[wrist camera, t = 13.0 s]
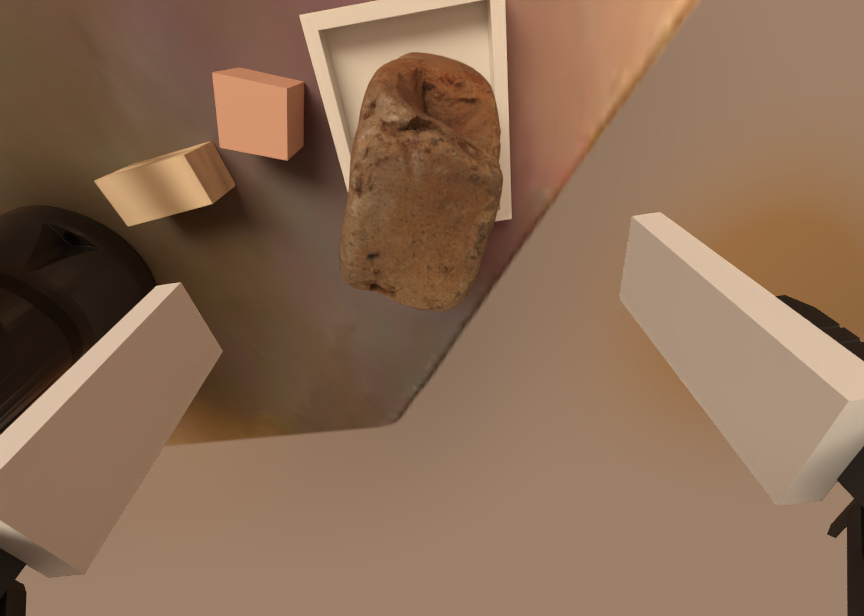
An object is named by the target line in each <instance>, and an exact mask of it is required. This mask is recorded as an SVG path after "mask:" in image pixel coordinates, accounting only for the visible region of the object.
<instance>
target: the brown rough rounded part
mask: <svg viewBox="0 0 864 616" xmlns="http://www.w3.org/2000/svg"><path fill="white" fill-rule="evenodd" d="M500 135H501V129H500V124H499V116H498V109H497V104H496V100H495V96H494V92H493V90H492V87H491V85H490V84H489V82H488V81H487V80H486V79H485V78H484V77H483V76H482V75H481V74H480V73H479V72H477V71H476V70H475V69H474V68H472V67H470V66H468V65H466V64H464V63H462V62H460V61H457V60H454V59H451V58H447V57H444V56H440V55H435V54H429V53H421V52H410V53H407V54H404V55H403V56H400V57H399V58H398V59H396V60H392V61H390V62H388V63H386V64H384V65H382V66H381V67H380V68H379V69H377V71H376V72H375V74H374V75H373V77H372V79H371V80H370V82H369V84H368V86H367V89H366V92H365V94H364V98H363V102H362V105H361V110H360V116H359V123H358V127H357V131H356V134H355V138H354V141H353V147H352V152H351V159H350V174H349V190H348V198H347V204H346V209H345V214H344V219H343V224H342V231H341V238H340V246H339V258H340V269H341V272H342V275H343V278H344V280H345V281H346V282H347V283H348V284H349V285H350V286H352V287H354V288H357V289H360V290H369V291H377V292H379V293H381V294H383V295H385V296H388V297H390V298H391V299H393V300H394V301H396V302H398V303H401V304H404V305H407V306H409V307H412V308H415V309H417V310H433V311H440V312H441V311H445V310H448V309H451V308H453V307H454V306H456V305H458V304H459V303H460V302H461V301H462V300H463V299H464V298H465V297H466V296H468V294H469V292H470V290H471V287H472V285H473V283H474V281H475V279H476V277H477V275H478V271H479V268H480V265H481V261H482V258H483V255H484V252H485V250H486V247H487V245H488V242H489V239H490V236H491V233H492V230H493V227H494V224H495V220H496V215H497V211H498V207H499V203H500V198H501V194H502V185H503V175H502V170H500V164H499V158H500V147H501V144H500Z"/></svg>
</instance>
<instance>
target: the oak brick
mask: <svg viewBox="0 0 864 616" xmlns="http://www.w3.org/2000/svg"><path fill="white" fill-rule="evenodd" d="M94 182H95V183H96V184H97V186H98V187H99V188H100V190H101V191H102V192H103V194H104V195H105V196H106V198H107V199H108V200H109V202H110V203H111V205H112V206H113V207H114V209H115V210H116V211H117V213H118V214H119V215H120V217H121V218H122V219H123V221H124V222H125V223H126V225H127V226H128V227H129V226H133V225H136V224H140V223H144V222H148V221H151V220H155V219H159V218H162V217H166V216H170V215H174V214H177V213H181V212H185V211H188V210H192V209H196V208H200V207H203V206H207V205H211V204H213V203H215V202H216V201H217V200H218V199H220V198H221V197H222V196H223V195H225V194H226V193H227V192H228V191H230V190H231V189H232V188H233V187H235V186H236V185H235V183H234V181H233V179H232V177H231V176H230V174H229V172H228V170H227V168H226V166H225V164H224V163H223V161H222V159H221V157H220V155H219V153H218V152H217V150H216V148H215V146H214V144H213V142H212V141H210V142H207V143H203V144H200V145H196V146H193V147H189V148H186V149H183V150H179V151H176V152H172V153H169V154H165V155H162V156H158V157H155V158H152V159H148V160H145V161H141V162H138V163H134V164H131V165H129V166H127V167H124V168H122V169H120V170H118V171H115V172H113V173H111V174H108V175H106V176H104V177H102V178H99V179H97V180H95V181H94Z"/></svg>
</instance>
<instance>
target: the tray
mask: <svg viewBox="0 0 864 616" xmlns="http://www.w3.org/2000/svg"><path fill="white" fill-rule="evenodd" d="M299 16H300V20H301V24H302V27H303V31H304V35H305V38H306V42H307V46H308V49H309V53H310V56H311V60H312V64H313V67H314V71H315V75H316V78H317V82H318V86H319V89H320V93H321V96H322V100H323V104H324V107H325V111H326V115H327V118H328V122H329V126H330V129H331V133H332V137H333V140H334V144H335V147H336V151H337V155H338V158H339V162H340V166H341V169H342V173H343V177H344V180H345V184H346V187H347V191H348V190H349V174H350V159H351V152H352V147H353V141H354V138H355V134H356V131H357V127H358V123H359V116H360V110H361V105H362V102H363V98H364V94H365V92H366V89H367V86H368V84H369V82H370V80H371V79H372V77H373V75H374V74H375V72H376V71H377V69H379V68H380V67H381V66H382V65H384V64H386V63H388V62H390V61H392V60H396V59H398V58H399V57H400V56H403V55H404V54H407V53H410V52H421V53H429V54H435V55H440V56H444V57H447V58H451V59H454V60H457V61H460V62H462V63H464V64H466V65H468V66H470V67H472V68H474V69H475V70H476V71H477V72H479V73H480V74H481V75H482V76H483V77H484V78H485V79H486V80H487V81H488V82H489V84H490V85H491V87H492V90H493V92H494V96H495V100H496V104H497V109H498V116H499V124H500V129H501V135H500V144H501V147H500V158H499V164H500V170H502V175H503V185H502V194H501V198H500V203H499V207H498V211H497V215H496V220H495V221H501V220H508V219H512V208H511V175H510V142H509V110H508V77H507V44H506V11H505V0H377V1H372V2H367V3H361V4H356V5H351V6H345V7H340V8H335V9H329V10H324V11H319V12H313V13H308V14H303V15H299Z"/></svg>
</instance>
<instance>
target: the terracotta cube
mask: <svg viewBox="0 0 864 616" xmlns="http://www.w3.org/2000/svg"><path fill="white" fill-rule="evenodd" d="M212 75H213V85H214V94H215V104H216V114H217V124H218V133H219V143H220V148H225V149H230V150H235V151H240V152H246V153H251V154H256V155H261V156H266V157H271V158H276V159H281V160H287V161H288V160H289V159H290V158H291V157H292V156H293V155H294V154H295V153H296V152H297V151H299V150H300V149H301V148H302V147H303V145H304V82H303V81H298V80H294V79H289V78H285V77H280V76H276V75H271V74H267V73H262V72H258V71H253V70H248V69H244V68H235V69H229V70H223V71H217V72H212Z"/></svg>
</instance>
